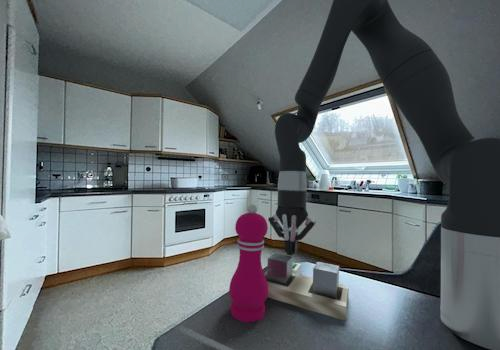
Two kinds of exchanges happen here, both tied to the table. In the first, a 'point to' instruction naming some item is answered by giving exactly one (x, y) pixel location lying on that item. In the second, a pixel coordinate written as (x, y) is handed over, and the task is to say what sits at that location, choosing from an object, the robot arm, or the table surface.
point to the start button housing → (297, 269)
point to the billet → (326, 280)
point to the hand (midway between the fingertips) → (290, 254)
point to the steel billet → (280, 269)
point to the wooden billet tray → (310, 296)
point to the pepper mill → (249, 269)
